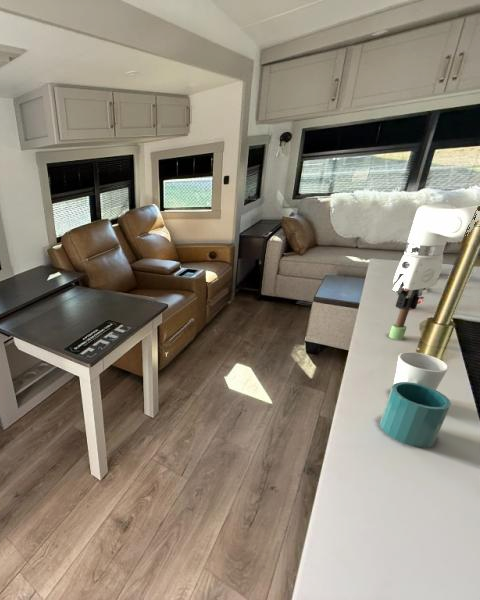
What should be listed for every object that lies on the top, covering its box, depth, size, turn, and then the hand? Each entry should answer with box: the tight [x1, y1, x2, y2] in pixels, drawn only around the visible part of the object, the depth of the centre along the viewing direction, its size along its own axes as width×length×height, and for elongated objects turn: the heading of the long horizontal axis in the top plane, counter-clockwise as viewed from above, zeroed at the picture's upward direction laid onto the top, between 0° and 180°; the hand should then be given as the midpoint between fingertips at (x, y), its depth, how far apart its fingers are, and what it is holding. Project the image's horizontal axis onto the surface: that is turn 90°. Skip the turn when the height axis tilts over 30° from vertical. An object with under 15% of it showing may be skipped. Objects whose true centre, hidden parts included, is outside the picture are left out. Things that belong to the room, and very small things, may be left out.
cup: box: [392, 351, 449, 391], centre depth 75 cm, size 8×8×12 cm
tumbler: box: [379, 382, 452, 448], centre depth 67 cm, size 8×8×11 cm
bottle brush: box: [388, 290, 415, 341], centre depth 98 cm, size 3×3×17 cm
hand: (405, 307), depth 97 cm, fingers closed on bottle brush
